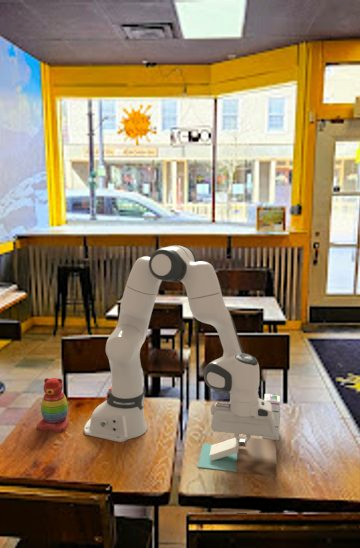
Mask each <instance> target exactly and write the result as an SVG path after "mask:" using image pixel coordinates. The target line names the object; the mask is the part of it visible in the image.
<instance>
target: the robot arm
mask: <svg viewBox="0 0 360 548" xmlns="http://www.w3.org/2000/svg"><path fill="white" fill-rule="evenodd" d="M162 282H172V283H180V282H181V283H182V284H183V286H184V288H185V291H186V296H187V297H186V298H187V300H188V301H187V302H188V306H189V309H190V312H191V315H192V316H193V318H195V319H196V320H197V321H199V322H201V323H203V324H207V325H211V326H213V328H215V330H216V331H217V334H218V336H219V340H220V343H221V346H222V349H223V354H222V356H221V357H219V358H217V359H214V360H212V361H211V362H209V363H208V364H207V365H206V366H205V367H204V369H203V379H204V382H205V384H206V385H207V387H208V388H210V389H211V390H212V391H215V392H222V393H229V394H230V395H229V403H225V402H224V403H223V402H216V403H213V404H212V405H211V407H210V414H211V415H212V418H211V423H210V428H211V430H212V431H213V433H215V432H216V433H226V434H234V438H236V440H237V441H238V446H244V447H247V442H248V441H249V439H250V438H252V436H257V437H263V436H264V437H273V436H274V435H275V421H274V415H273V413H272V405H271V403H270V402H268V401H265V400H264V399H262V398H260V396H259V393H258V392H259V387H260V365H259V362H258V360H257V358H256V357H254V356H253V355H251V354H249V353H245V351H244V348H243V347H242V345H241V340H240V338H239V334H238V331H237V328H236V324H235V321H234V320H233V316H232V314H231V312H230V311H229V309H228V308H227V305H226V304H225V301H224V298H223V293H222V288H221V284H220V281H219V279H218V276H217V273H216V271H215V268H214V266H213V265H212V264H211V263H209V262H208V261H204V260H203V261H202V260H200V261H197V255H196V254H195V252H194V251H193V250H192V249H191V248H190V247H188V246H185V245H169V246H166V247H165V246H164V247H160V248H158V249H156V250H155V251H154V252H153V253H152V254H151V255H150V256H141V257H139V258H137V260H135V262H134V263H133V266H132V268H131V270H130V273H129V275H128V278H127V280H126V285H125V288H124V291H123V294H122V298H121V302H120V309H119V315H118V316H119V317H118V320H117V323H116V324H117V325H116V326H115V328H114V330H113V331H112V332H111V334H110V335H109V336H108V338H107V340H106V344H105V353H106V356H107V359H108V362H109V368H110V374H111V375H110V378H111V386H110V387H109V388H108V390H107V392H106V395H105V397H104V398H105V399H104V401H103V402H102V403H100V404H99V405H98V406H97V407H95V409H94V410H93V411H92V414H91V416H90V418H89V420H87V421H86V423H85V425H84V428H83V433H84V434H85V435H87V436H91V437H95V438H99V439H100V438H101V439H103V440H109V441H114V442H118V443H123V442H126V441H128V440H131V439H135V438H138V437H140V436H142V435H144V434H145V433H146V432H147V430H148V425H147V422H146V417H145V410H144V407H145V391H144V386H143V385H144V381H143V380H144V379H143V378H144V370H143V368H142V365H141V364H142V363H141V356H140V355H141V354H140V353H141V348H142V346H143V344H144V343H145V341H146V338H147V334H148V330H149V325H150V321H151V317H152V312H153V309H154V307H155V303H156V299H157V296H158V294H159V290H160V286H161V284H162ZM240 435H244V436H245V437H246V438H245V439H240V438H239V437H240Z"/></svg>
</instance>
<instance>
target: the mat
mask: <svg viewBox="0 0 360 548" xmlns="http://www.w3.org/2000/svg"><path fill="white" fill-rule="evenodd" d="M214 444H215V443H206V442H203V443H202V446H201V450H200V455H199V458H198V459H199V460H198V463H197V468H199V469H208V470H217V471H227V472H235V473H237V472H236V466H237V453H235V454H232V455H229V456H226V457H222V458H219V459H216V460H213V461H212V460H211V457H210V450H211V445H214Z"/></svg>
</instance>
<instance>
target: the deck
mask: <svg viewBox="0 0 360 548" xmlns="http://www.w3.org/2000/svg"><path fill="white" fill-rule="evenodd" d="M239 438H240V439H245V438H246V436H239ZM276 451H277V449H276V440H270V439H264V438H257V437H251V438H250V439H249V441H248V442H247V447H244V446H239V447H238V453H237V466H236V472H235V473H243V474H253V475H261V476H271V477H277V452H276Z"/></svg>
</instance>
